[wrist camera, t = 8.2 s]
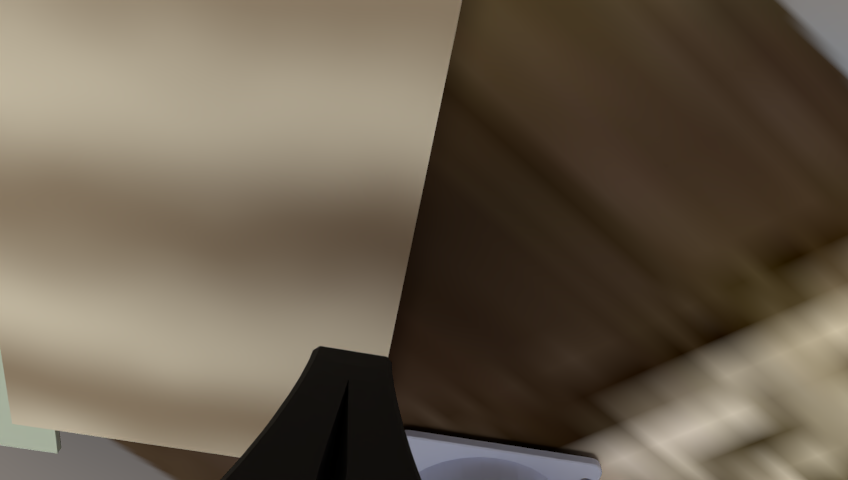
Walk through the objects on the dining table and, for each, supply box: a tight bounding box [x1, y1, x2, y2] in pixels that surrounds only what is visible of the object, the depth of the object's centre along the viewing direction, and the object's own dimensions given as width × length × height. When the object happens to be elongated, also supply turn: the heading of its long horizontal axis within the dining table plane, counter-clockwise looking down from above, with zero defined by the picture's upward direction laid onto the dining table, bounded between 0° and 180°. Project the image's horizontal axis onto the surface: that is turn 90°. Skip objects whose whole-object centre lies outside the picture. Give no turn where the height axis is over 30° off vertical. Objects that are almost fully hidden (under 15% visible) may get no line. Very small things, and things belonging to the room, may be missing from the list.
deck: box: [0, 0, 462, 457], centre depth 20 cm, size 16×11×4 cm
